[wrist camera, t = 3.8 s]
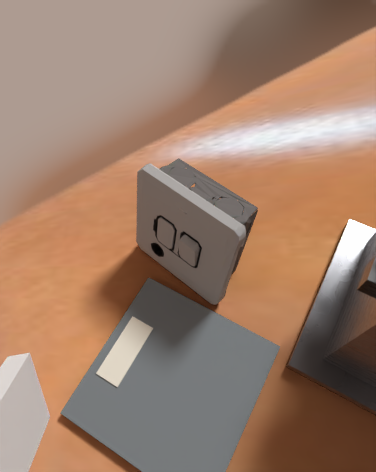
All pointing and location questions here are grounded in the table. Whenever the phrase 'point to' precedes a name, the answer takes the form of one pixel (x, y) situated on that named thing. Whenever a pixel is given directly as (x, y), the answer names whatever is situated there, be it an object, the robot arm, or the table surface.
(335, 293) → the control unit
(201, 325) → the pad
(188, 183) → the electrical switch
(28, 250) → the table surface
